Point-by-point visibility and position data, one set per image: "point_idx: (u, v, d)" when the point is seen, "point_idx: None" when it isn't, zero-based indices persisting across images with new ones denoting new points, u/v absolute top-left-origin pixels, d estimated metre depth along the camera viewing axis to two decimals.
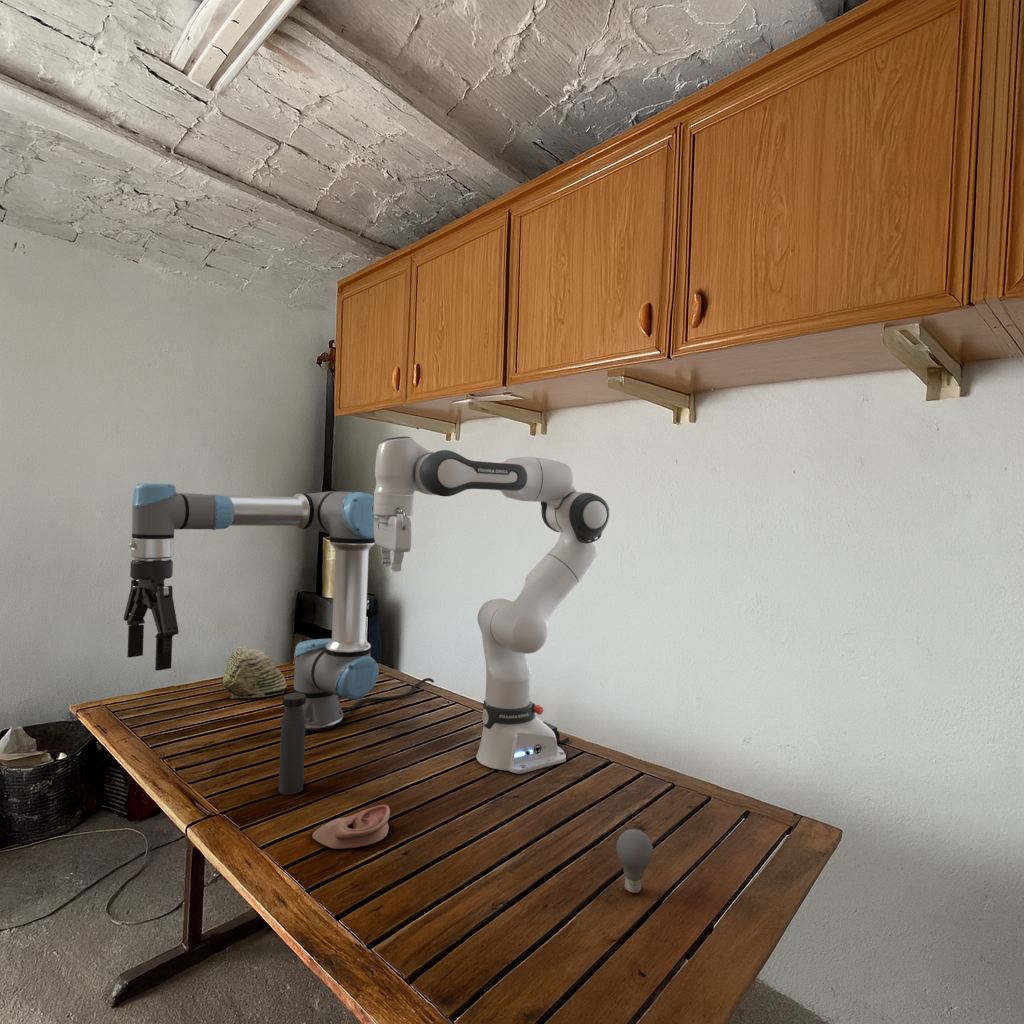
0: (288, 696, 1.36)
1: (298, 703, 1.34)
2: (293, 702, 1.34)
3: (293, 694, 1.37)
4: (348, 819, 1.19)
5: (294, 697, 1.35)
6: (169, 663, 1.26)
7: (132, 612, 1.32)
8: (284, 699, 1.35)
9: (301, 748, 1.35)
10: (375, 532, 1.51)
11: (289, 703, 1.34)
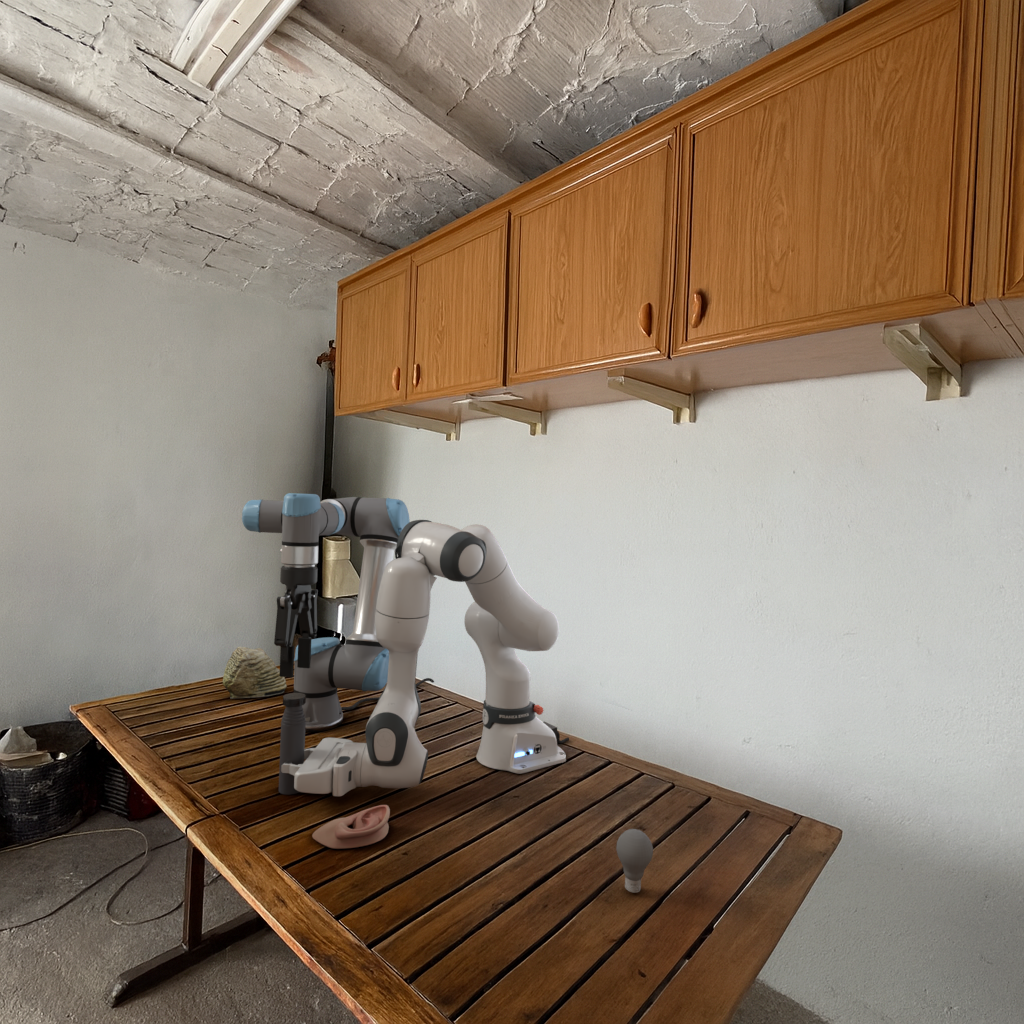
0: (288, 696, 1.36)
1: (298, 703, 1.34)
2: (293, 702, 1.34)
3: (293, 694, 1.37)
4: (348, 819, 1.19)
5: (294, 697, 1.35)
6: (290, 672, 1.32)
7: None
8: (284, 699, 1.35)
9: (301, 748, 1.35)
10: None
11: (289, 703, 1.34)
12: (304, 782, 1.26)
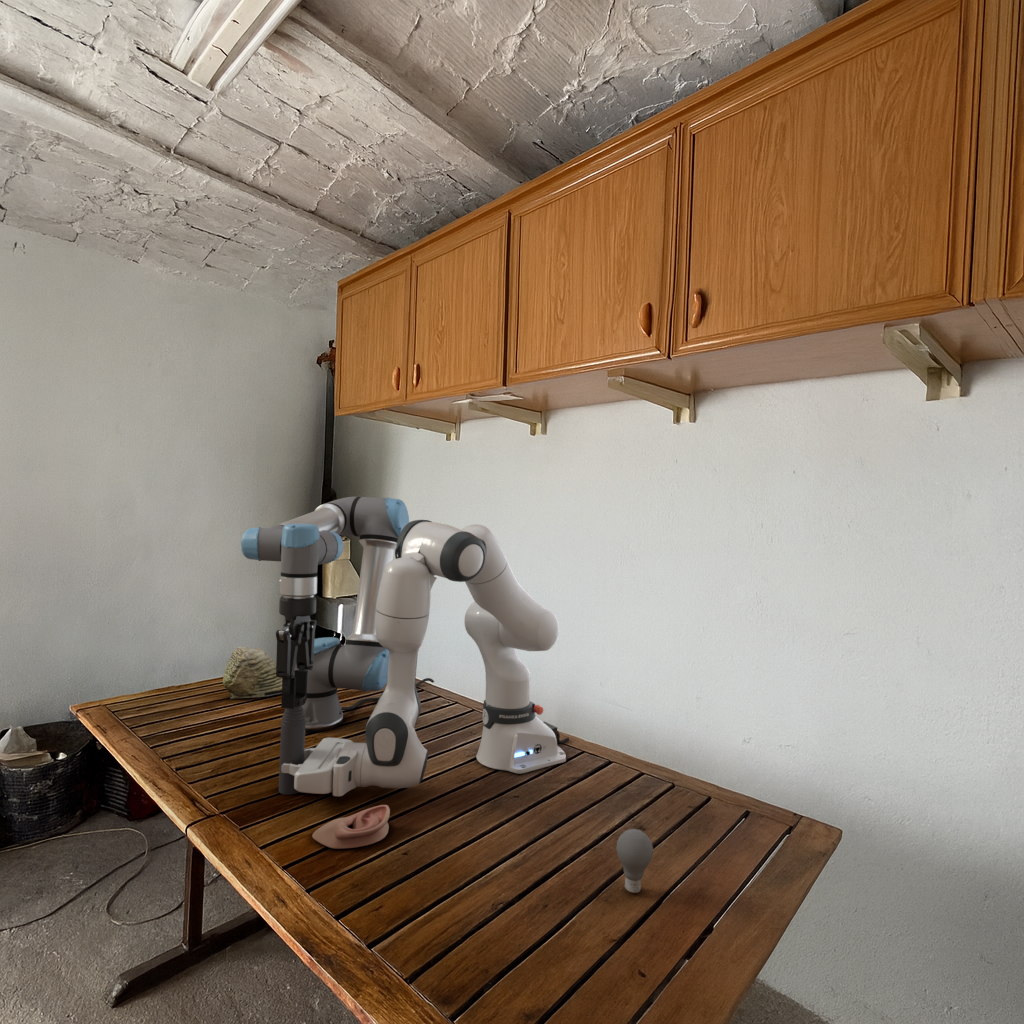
0: None
1: (298, 703, 1.34)
2: None
3: None
4: (348, 819, 1.19)
5: None
6: (291, 703, 1.33)
7: None
8: None
9: (301, 748, 1.35)
10: None
11: None
12: (304, 782, 1.26)
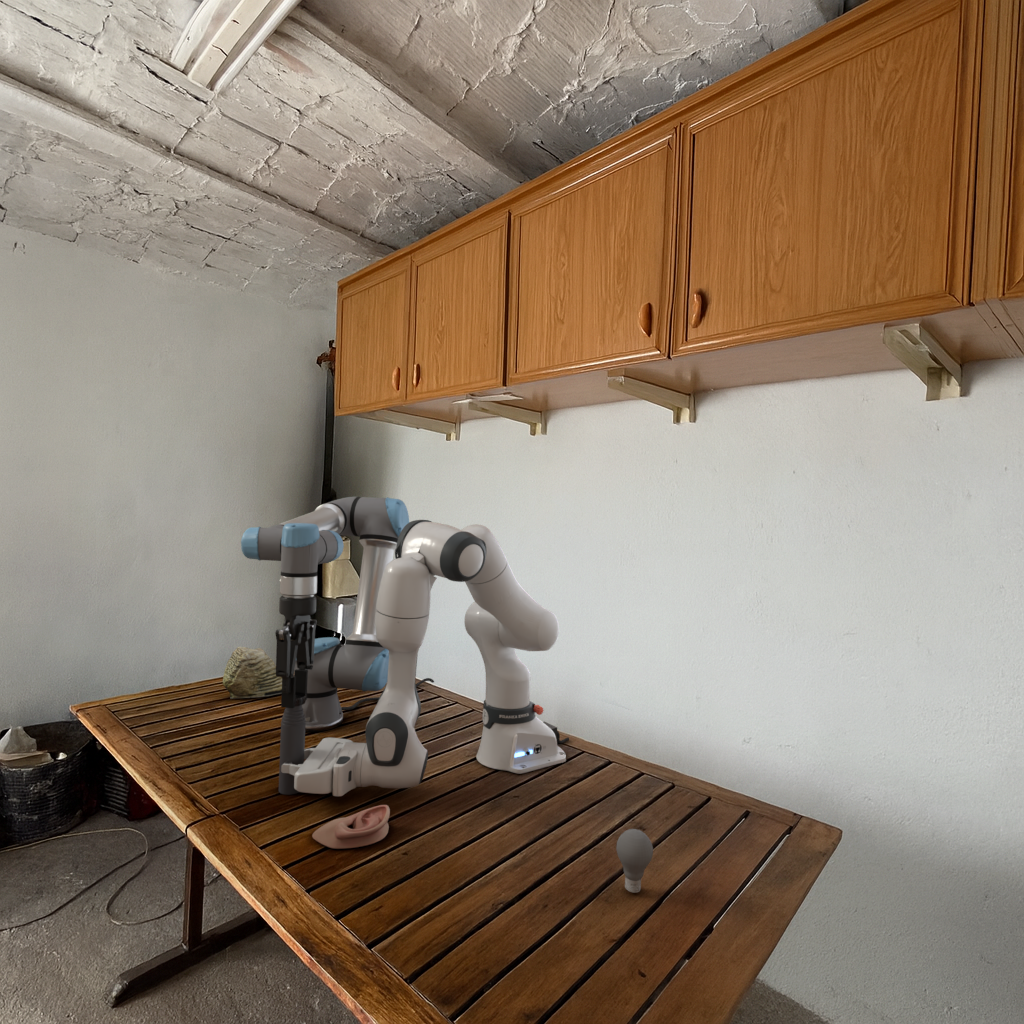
0: (298, 696, 1.36)
1: None
2: None
3: None
4: (348, 819, 1.19)
5: (298, 694, 1.37)
6: (291, 703, 1.33)
7: None
8: (304, 697, 1.36)
9: (301, 748, 1.35)
10: None
11: None
12: (304, 782, 1.26)
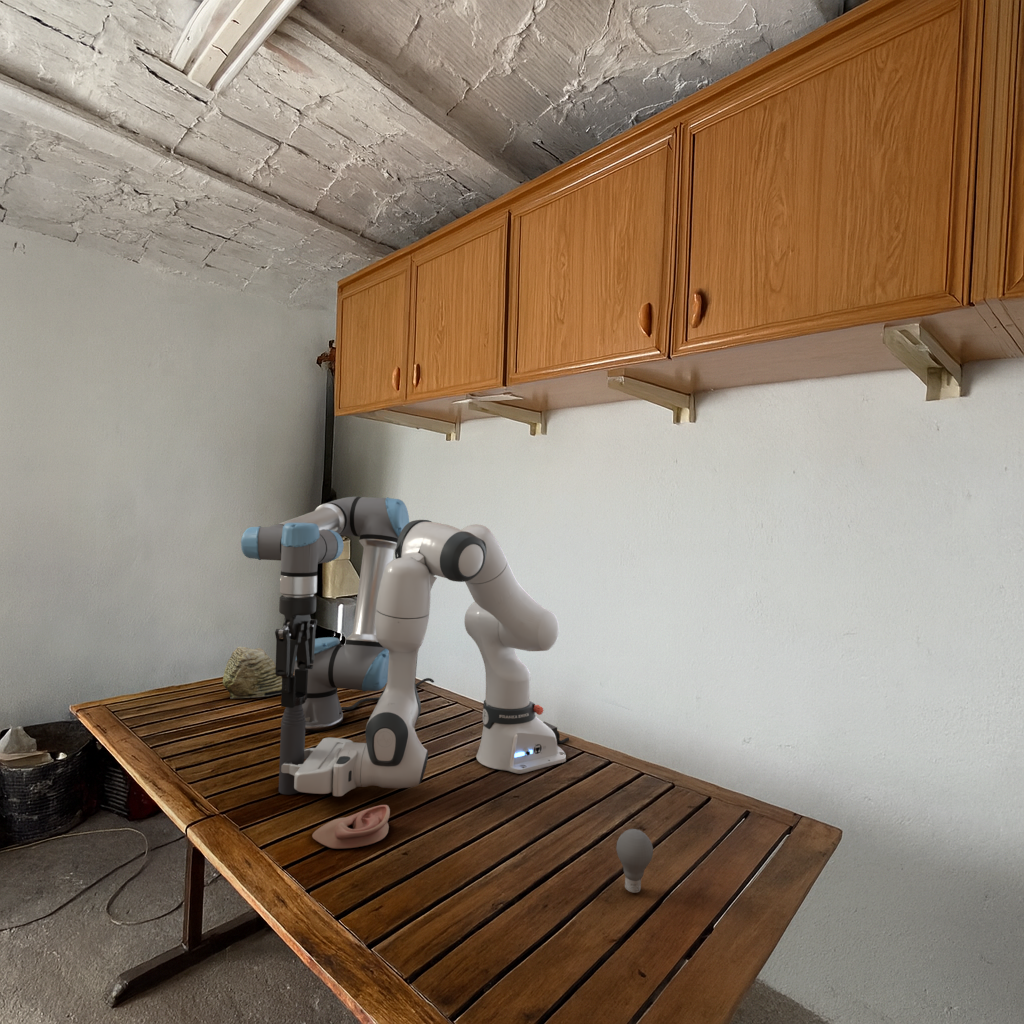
0: (295, 693, 1.37)
1: None
2: None
3: (300, 694, 1.36)
4: (348, 819, 1.19)
5: None
6: (291, 702, 1.33)
7: None
8: None
9: (301, 748, 1.35)
10: None
11: None
12: (304, 782, 1.26)
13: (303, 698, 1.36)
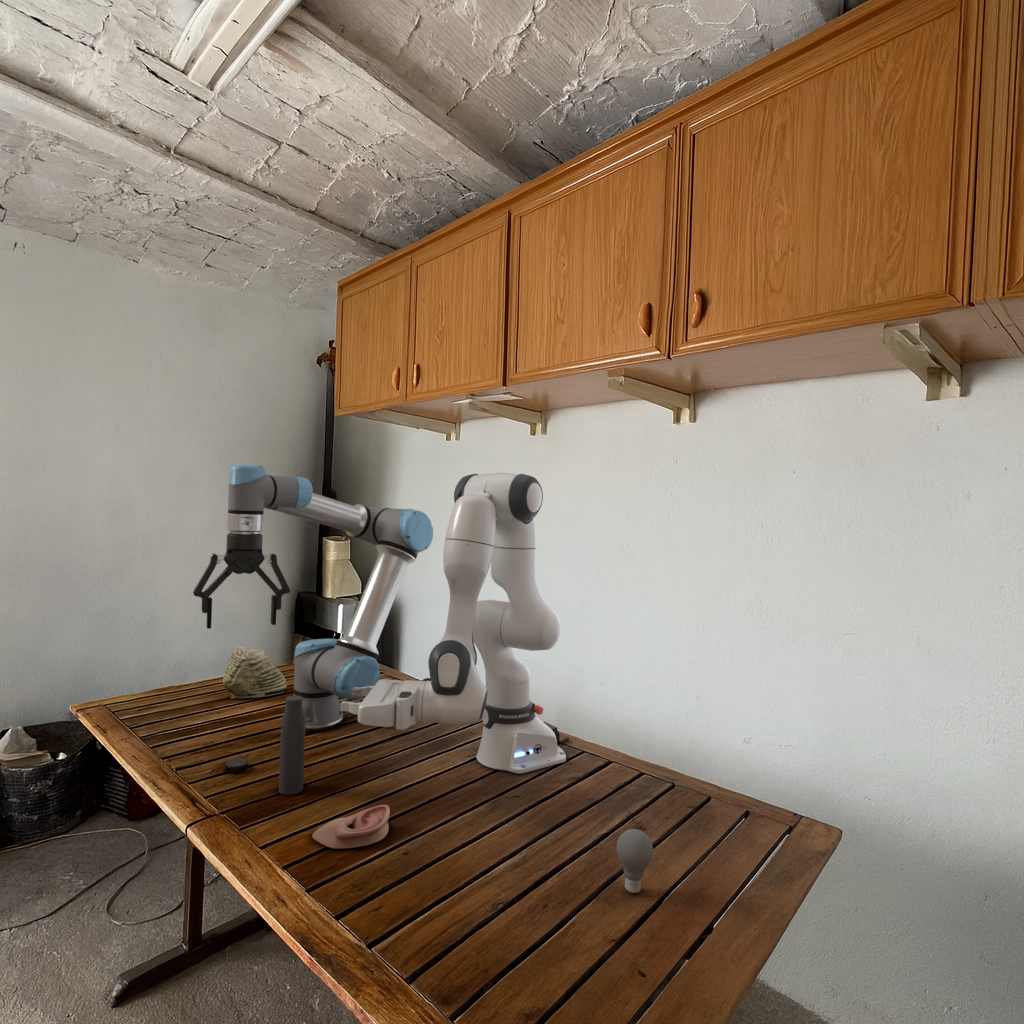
0: (242, 762, 1.45)
1: None
2: None
3: (235, 764, 1.44)
4: (348, 819, 1.19)
5: (238, 760, 1.46)
6: None
7: (216, 585, 1.40)
8: None
9: (301, 748, 1.35)
10: None
11: None
12: (368, 714, 1.26)
13: (228, 767, 1.43)
